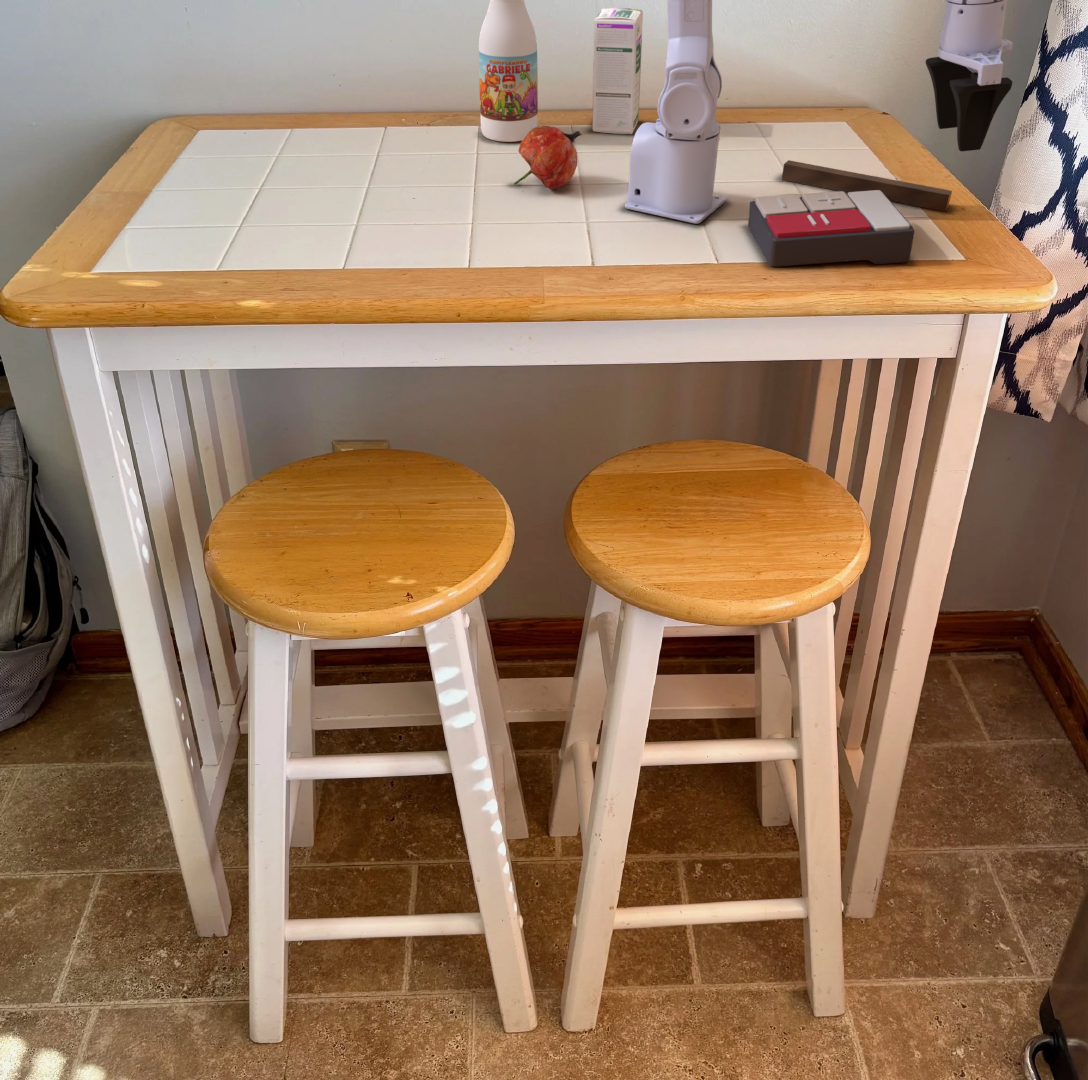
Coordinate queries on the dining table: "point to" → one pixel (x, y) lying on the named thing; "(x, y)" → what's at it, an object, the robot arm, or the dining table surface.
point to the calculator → (830, 228)
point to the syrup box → (617, 70)
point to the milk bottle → (508, 72)
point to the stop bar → (867, 185)
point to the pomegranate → (550, 155)
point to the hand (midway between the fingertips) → (958, 138)
